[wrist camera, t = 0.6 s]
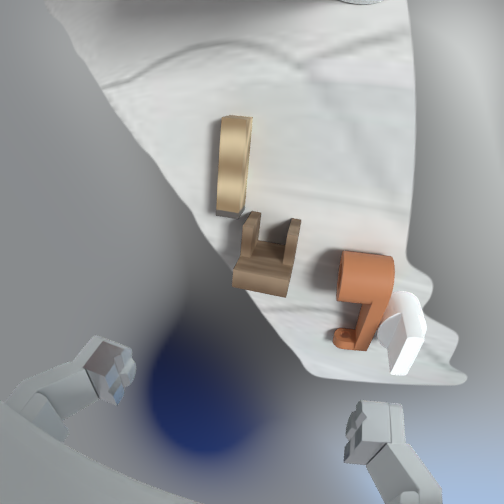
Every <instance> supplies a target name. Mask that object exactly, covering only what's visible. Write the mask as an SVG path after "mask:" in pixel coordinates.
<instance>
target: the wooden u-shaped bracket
mask: <svg viewBox="0 0 504 504" xmlns="http://www.w3.org/2000/svg"><path fill="white" fill-rule="evenodd" d="M260 219H261V213H260V212H254V211H252V212H251V214H250V215H249V217H248V218H247V220H246V222H245V223H244V225H243V230H242V242H241V254H240V258H239V259H238V261H237V263H236V265H235V267H234V269H233V282H232V287H236V288H241V289H245V290H250V291H255V292H260V293H265V294H270V295H275V296H280V297H285V298H286V295H287V291H288V287H289V282H290V278H291V273H292V269H293V264H294V259H295V253H296V248H297V242H298V236H299V230H300V225H301V220H300V219H294V218H292V220H291V223H290V227H289V230H288V234H287V240H286V245H281V244H276V243H271V242H265V241H260V240H258V237H259V228H260Z"/></svg>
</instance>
